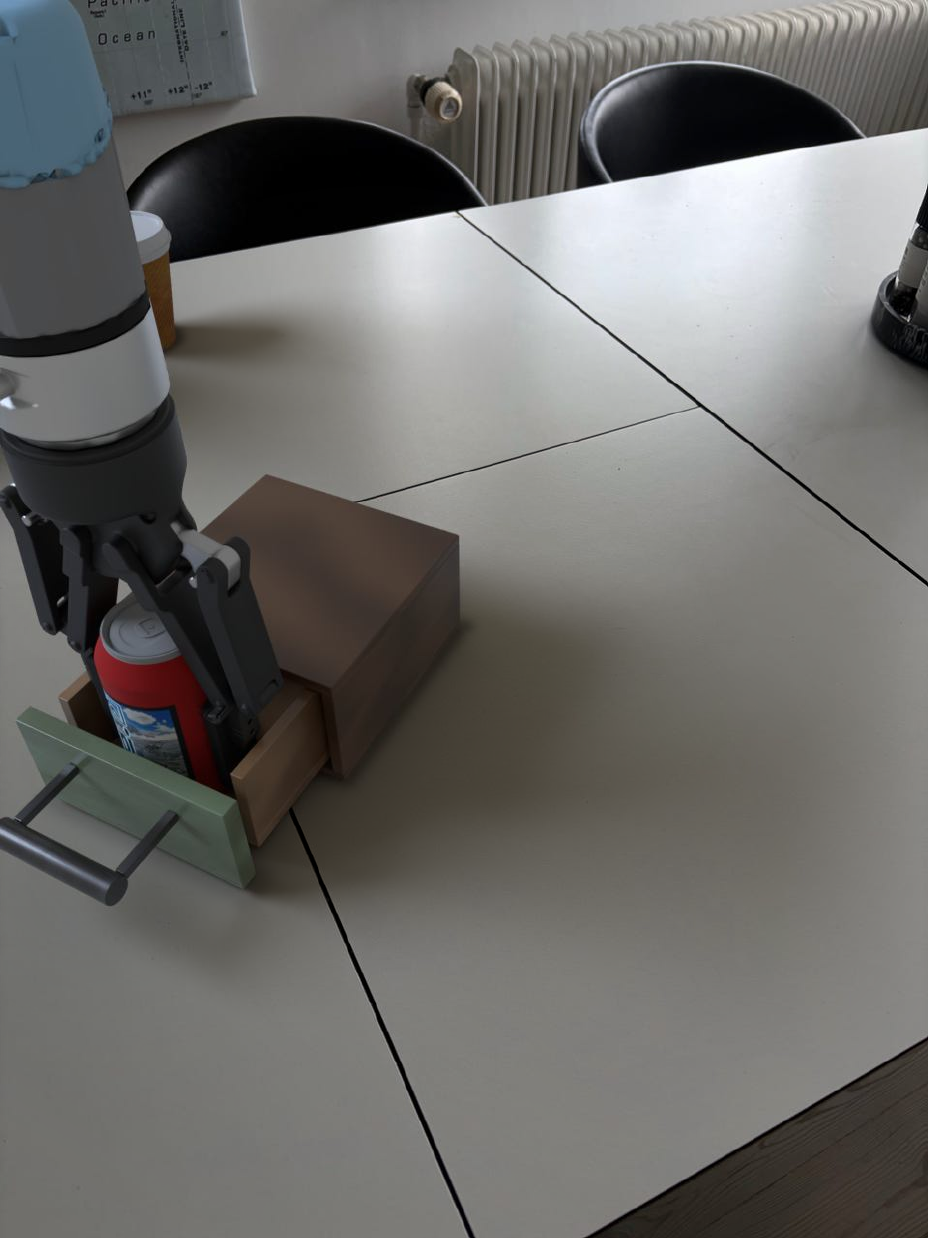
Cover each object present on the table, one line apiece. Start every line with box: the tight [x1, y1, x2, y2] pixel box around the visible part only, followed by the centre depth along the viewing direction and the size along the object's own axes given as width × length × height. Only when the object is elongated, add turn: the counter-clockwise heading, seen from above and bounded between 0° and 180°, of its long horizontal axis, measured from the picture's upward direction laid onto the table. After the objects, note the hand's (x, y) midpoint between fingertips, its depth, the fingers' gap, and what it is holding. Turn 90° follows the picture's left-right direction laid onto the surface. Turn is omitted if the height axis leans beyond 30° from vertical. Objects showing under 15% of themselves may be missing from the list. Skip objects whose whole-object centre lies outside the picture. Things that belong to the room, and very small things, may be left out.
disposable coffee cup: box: [130, 210, 177, 351], centre depth 100 cm, size 10×10×12 cm
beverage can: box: [94, 595, 227, 792], centre depth 56 cm, size 7×7×12 cm
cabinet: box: [123, 473, 461, 781], centre depth 67 cm, size 16×16×9 cm
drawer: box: [0, 670, 331, 907], centre depth 59 cm, size 20×14×7 cm
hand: (186, 745), depth 59 cm, fingers open, 7 cm apart
